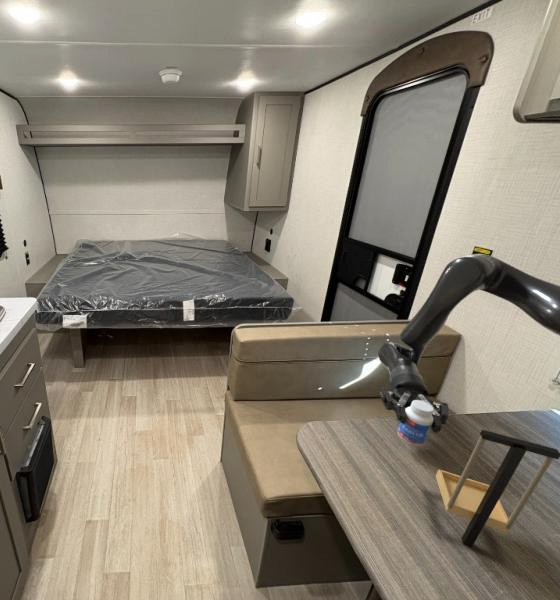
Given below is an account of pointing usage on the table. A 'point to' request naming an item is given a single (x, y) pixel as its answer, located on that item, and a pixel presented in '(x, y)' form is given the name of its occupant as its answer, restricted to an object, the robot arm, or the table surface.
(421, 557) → the table surface
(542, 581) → the table surface
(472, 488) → the hanging stand
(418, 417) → the pill bottle
